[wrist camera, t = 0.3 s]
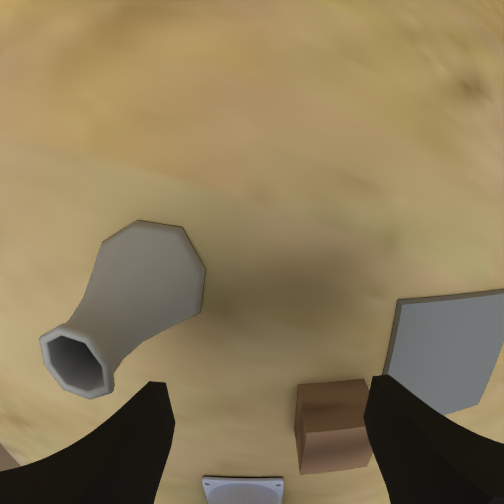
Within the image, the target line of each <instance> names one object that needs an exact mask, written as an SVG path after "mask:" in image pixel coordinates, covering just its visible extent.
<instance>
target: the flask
mask: <svg viewBox="0 0 504 504" xmlns="http://www.w3.org/2000/svg"><path fill="white" fill-rule="evenodd" d="M205 271H206V269H205V268H204V266H203V264H202V262H201V261H200V259H199V257H198V255H197V254H196V252H195V250H194V248H193V247H192V245H191V243H190V241H189V239H188V238H187V236H186V234H185V232H184V230H183V229H182V228H181V227H175V226H169V225H163V224H157V223H150V222H144V221H138V220H136V221H135V222H133V223H131V224H130V225H128V226H127V227H125V228H123V229H122V230H120V231H119V232H117V233H115V234H114V235H112V236H111V237H109V238H108V239H106V240H104V241H103V242H102V244H101V247H100V249H99V252H98V256H97V259H96V262H95V265H94V268H93V271H92V274H91V277H90V280H89V282H88V285H87V288H86V291H85V294H84V297H83V299H82V300H81V302H80V304H79V305H78V307H77V308H76V310H75V312H74V313H73V315H72V316H71V318H70V320H68V321H67V322H66V323H64V324H61V325H59V326H58V327H56V328H54V329H52V330H50V331H49V332H47V333H45V334H43V335H42V336H41V337H40V338H39V340H40V346H41V351H42V356H43V361H44V365H45V366H46V368H47V369H48V370H49V372H50V373H51V374H52V376H53V377H54V378H55V380H56V381H57V382H58V383H59V385H60V386H61V387H62V388H63V390H66V391H68V392H71V393H74V394H76V395H79V396H82V397H85V398H87V399H93V398H97V397H100V396H104V395H107V394H110V393H112V392H113V390H114V386H115V383H114V372H115V371H116V369H117V368H118V366H119V365H120V363H121V362H122V360H123V359H124V358H125V357H126V356H127V355H128V354H130V353H131V352H132V351H133V350H134V349H135V348H136V347H137V346H139V345H140V344H141V343H142V342H143V341H145V340H147V339H149V338H151V337H153V336H155V335H156V334H158V333H160V332H162V331H164V330H166V329H167V328H169V327H171V326H173V325H175V324H178V323H180V322H182V321H184V320H186V319H188V318H190V317H192V316H194V315H196V314H198V313H200V311H201V302H202V294H203V286H204V279H205Z"/></svg>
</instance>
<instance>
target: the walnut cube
mask: <svg viewBox="0 0 504 504" xmlns="http://www.w3.org/2000/svg"><path fill="white" fill-rule="evenodd" d="M368 396H369V389H368V387H367V385H366V383H365V380H364V379H358V380H349V381H339V382H327V383H314V384H298V395H297V406H296V417H295V427H294V430H295V438H296V446H297V454H298V462H299V470H300V475H304V474H315V473H324V472H333V471H340V470H347V469H354V468H360V467H365V466H367V465H368V463H369V460H370V458H371V455H372V453H373V450H372V448H371V445H370V442H369V440H368V436H367V432H366V427H365V423H364V418H363V415H364V412H365V408H366V404H367V400H368Z"/></svg>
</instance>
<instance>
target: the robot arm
mask: <svg viewBox="0 0 504 504" xmlns="http://www.w3.org/2000/svg"><path fill="white" fill-rule="evenodd" d="M363 418H364V423H365V427H366V432H367V436H368V440H369V442H370V445H371V448H372V450H373V453H374V455H375V458H376V461H377V463H378V466H379V468H380V471H381V473H382V476H383V479H384V481H385V484H386V487H387V490H388V493H389V498H390V502H391V504H504V444H503V443H499V442H496V441H493V440H491V439H488V438H486V437H483V436H480V435H478V434H476V433H474V432H472V431H470V430H468V429H466V428H464V427H462V426H460V425H458V424H456V423H455V422H453V421H451V420H450V419H448V418H446V417H445V416H443V415H442V414H440V413H439V412H437V411H436V410H434V409H433V408H431V407H430V406H429V405H427V404H426V403H425V402H423V401H422V400H421V399H419V398H418V397H417V396H415V395H414V394H413V393H412V392H410V391H409V390H408V389H407V388H405V387H404V386H403V385H402V384H400V383H399V382H398V381H397V380H395V379H394V378H393V377H391V376H390V375H389V374H387V375H380V376H373V378H372V383H371V387H370V391H369V396H368V400H367V404H366V408H365V412H364V415H363ZM174 427H175V419H174V415H173V411H172V407H171V403H170V399H169V395H168V391H167V386H166V383H164V382H152V381H149V382H148V383H147V384H146V385H145V386H144V387H143V388H142V389H141V390H140V391H138V392H137V393H136V394H135V395H134V396H133V397H132V398H131V399H130V400H129V401H128V402H127V403H126V404H125V405H124V406H122V407H121V408H120V409H119V410H118V411H117V412H116V413H115V414H113V415H112V416H111V417H110V418H109V419H108V420H106V421H105V422H104V423H103V424H101V425H100V426H99V427H97V428H96V429H95V430H94V431H92V432H91V433H89V434H88V435H86V436H85V437H84V438H82V439H80V440H79V441H77V442H75V443H74V444H72V445H70V446H69V447H67V448H65V449H63V450H61V451H59V452H57V453H55V454H53V455H51V456H49V457H46V458H44V459H41V460H39V461H36V462H34V463H31V464H28V465H25V466H21V467H18V468H14V469H9V470H5V471H1V472H0V504H154V500H155V496H156V492H157V489H158V486H159V483H160V480H161V477H162V473H163V470H164V467H165V464H166V461H167V458H168V455H169V452H170V448H171V445H172V439H173V433H174ZM202 484H203V488H204V491H205V495H206V498H207V501H208V504H282V496H283V487H284V479H282V478H219V477H203V478H202Z"/></svg>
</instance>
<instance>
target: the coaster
mask: <svg viewBox="0 0 504 504" xmlns="http://www.w3.org/2000/svg"><path fill="white" fill-rule="evenodd" d="M503 342H504V289H501V290H493V291H485V292H476V293H467V294H458V295H448V296H438V297H427V298H415V299H402V300H397V307H396V313H395V318H394V324H393V329H392V334H391V339H390V344H389V349H388V354H387V358H386V362H385V367H384V371H383V375H387V374H389V375H390V376H391V377H393V378H394V379H395V380H397V381H398V382H399V383H400V384H402V385H403V386H404V387H405V388H407V389H408V390H409V391H410V392H412V393H413V394H414V395H415V396H417V397H418V398H419V399H421V400H422V401H423V402H425V403H426V404H427V405H429V406H430V407H431V408H433V409H434V410H436V411H437V412H439V413H440V414H442V415H446V414H449V413H453V412H456V411H459V410H462V409H466V408H469V407H472V406H475V405H478V403H479V401H480V399H481V397H482V395H483V393H484V390H485V388H486V386H487V383H488V381H489V379H490V376H491V374H492V371H493V369H494V366H495V364H496V361H497V358H498V356H499V353H500V350H501V347H502V345H503Z"/></svg>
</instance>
